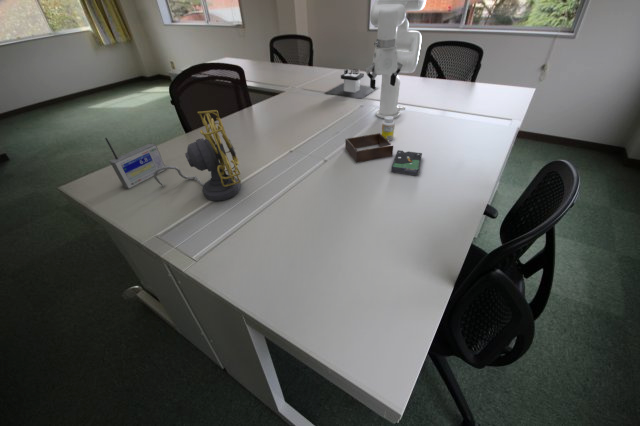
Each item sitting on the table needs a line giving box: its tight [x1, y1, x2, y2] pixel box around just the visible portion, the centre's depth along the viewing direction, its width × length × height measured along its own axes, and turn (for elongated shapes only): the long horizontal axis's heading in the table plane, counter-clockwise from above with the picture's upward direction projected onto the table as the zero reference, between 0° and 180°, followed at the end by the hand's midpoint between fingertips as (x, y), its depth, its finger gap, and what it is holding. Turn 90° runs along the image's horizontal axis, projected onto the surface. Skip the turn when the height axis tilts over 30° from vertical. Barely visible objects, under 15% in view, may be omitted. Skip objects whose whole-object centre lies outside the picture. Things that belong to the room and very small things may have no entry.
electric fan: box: [153, 109, 242, 202], centre depth 101 cm, size 26×32×30 cm
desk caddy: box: [344, 132, 394, 164], centre depth 129 cm, size 17×14×5 cm
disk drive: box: [390, 149, 423, 176], centre depth 119 cm, size 10×3×15 cm
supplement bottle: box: [381, 116, 396, 142], centre depth 137 cm, size 6×6×10 cm
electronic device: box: [105, 137, 167, 190], centre depth 116 cm, size 17×7×20 cm, turn 148°
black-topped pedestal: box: [325, 68, 379, 100], centre depth 198 cm, size 28×26×13 cm
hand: (382, 86), depth 132 cm, fingers open, 9 cm apart
